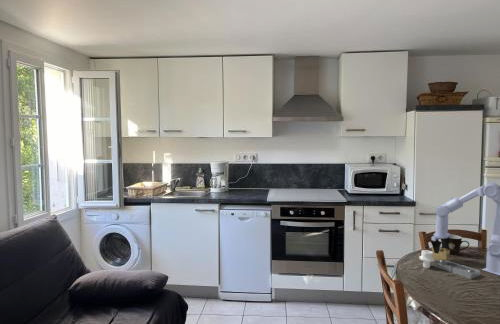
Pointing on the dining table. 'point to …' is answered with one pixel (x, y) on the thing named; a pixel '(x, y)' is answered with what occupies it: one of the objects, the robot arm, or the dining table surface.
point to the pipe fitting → (426, 258)
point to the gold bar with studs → (441, 254)
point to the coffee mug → (455, 245)
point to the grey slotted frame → (457, 268)
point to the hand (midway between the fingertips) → (440, 251)
